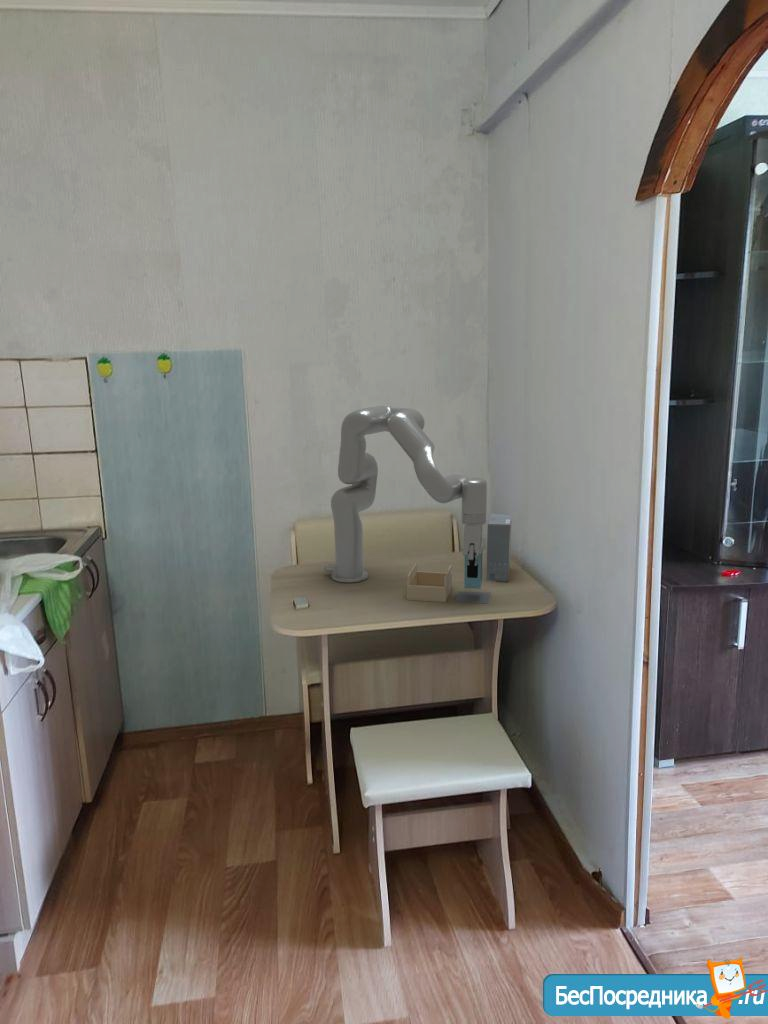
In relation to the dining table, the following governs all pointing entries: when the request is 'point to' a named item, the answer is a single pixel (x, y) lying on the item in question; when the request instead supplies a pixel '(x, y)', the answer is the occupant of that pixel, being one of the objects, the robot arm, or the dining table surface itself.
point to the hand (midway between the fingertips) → (473, 574)
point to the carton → (428, 585)
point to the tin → (477, 582)
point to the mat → (472, 597)
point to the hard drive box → (498, 547)
